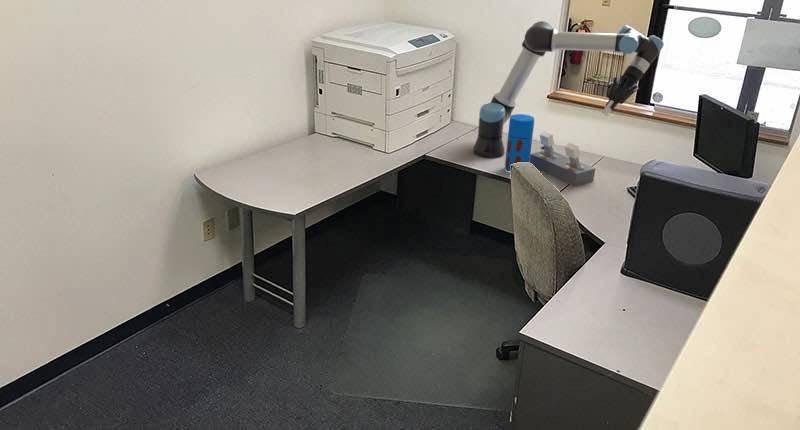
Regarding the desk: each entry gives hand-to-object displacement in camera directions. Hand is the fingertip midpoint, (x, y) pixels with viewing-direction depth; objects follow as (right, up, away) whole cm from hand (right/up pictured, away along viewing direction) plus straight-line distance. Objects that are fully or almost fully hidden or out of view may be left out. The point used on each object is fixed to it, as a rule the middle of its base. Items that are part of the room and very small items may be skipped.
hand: (604, 114), depth 278 cm
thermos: (-38, -24, +9) cm, 46 cm away
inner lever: (-22, -17, +10) cm, 30 cm away
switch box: (-18, -26, +7) cm, 32 cm away
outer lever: (-13, -23, -2) cm, 27 cm away
